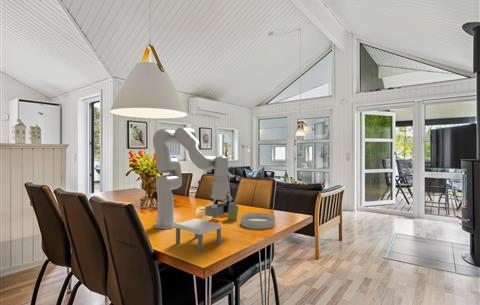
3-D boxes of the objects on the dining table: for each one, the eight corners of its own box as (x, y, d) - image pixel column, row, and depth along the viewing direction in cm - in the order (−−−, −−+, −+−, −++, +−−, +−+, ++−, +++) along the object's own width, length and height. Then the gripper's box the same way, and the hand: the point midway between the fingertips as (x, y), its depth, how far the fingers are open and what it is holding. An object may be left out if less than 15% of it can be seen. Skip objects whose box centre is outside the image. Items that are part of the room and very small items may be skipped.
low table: (175, 243, 134) (175, 223, 134) (196, 236, 145) (196, 218, 145) (200, 252, 123) (200, 230, 123) (220, 244, 134) (221, 224, 134)
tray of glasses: (205, 215, 141) (205, 205, 141) (226, 209, 156) (226, 200, 156) (214, 217, 138) (214, 206, 138) (235, 211, 152) (235, 201, 152)
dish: (273, 230, 159) (273, 222, 159) (237, 228, 163) (237, 219, 163) (276, 221, 181) (276, 213, 181) (244, 219, 185) (244, 211, 185)
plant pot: (222, 219, 183) (222, 206, 183) (232, 217, 190) (232, 204, 190) (231, 221, 177) (231, 208, 177) (241, 219, 183) (242, 206, 183)
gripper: (205, 178, 149) (205, 210, 149) (228, 180, 138) (228, 214, 138) (214, 177, 155) (214, 208, 155) (237, 179, 144) (237, 212, 144)
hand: (221, 211), depth 147 cm, fingers closed on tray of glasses, 6 cm apart
